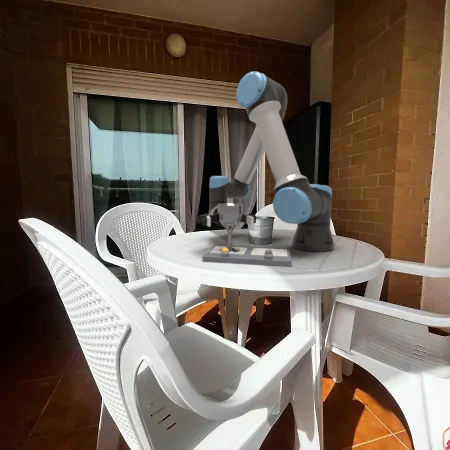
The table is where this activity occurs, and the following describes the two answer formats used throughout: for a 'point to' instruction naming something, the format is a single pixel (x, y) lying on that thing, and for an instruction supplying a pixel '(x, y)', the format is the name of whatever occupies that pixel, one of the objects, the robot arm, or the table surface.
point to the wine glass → (230, 220)
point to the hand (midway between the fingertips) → (231, 221)
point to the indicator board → (249, 256)
